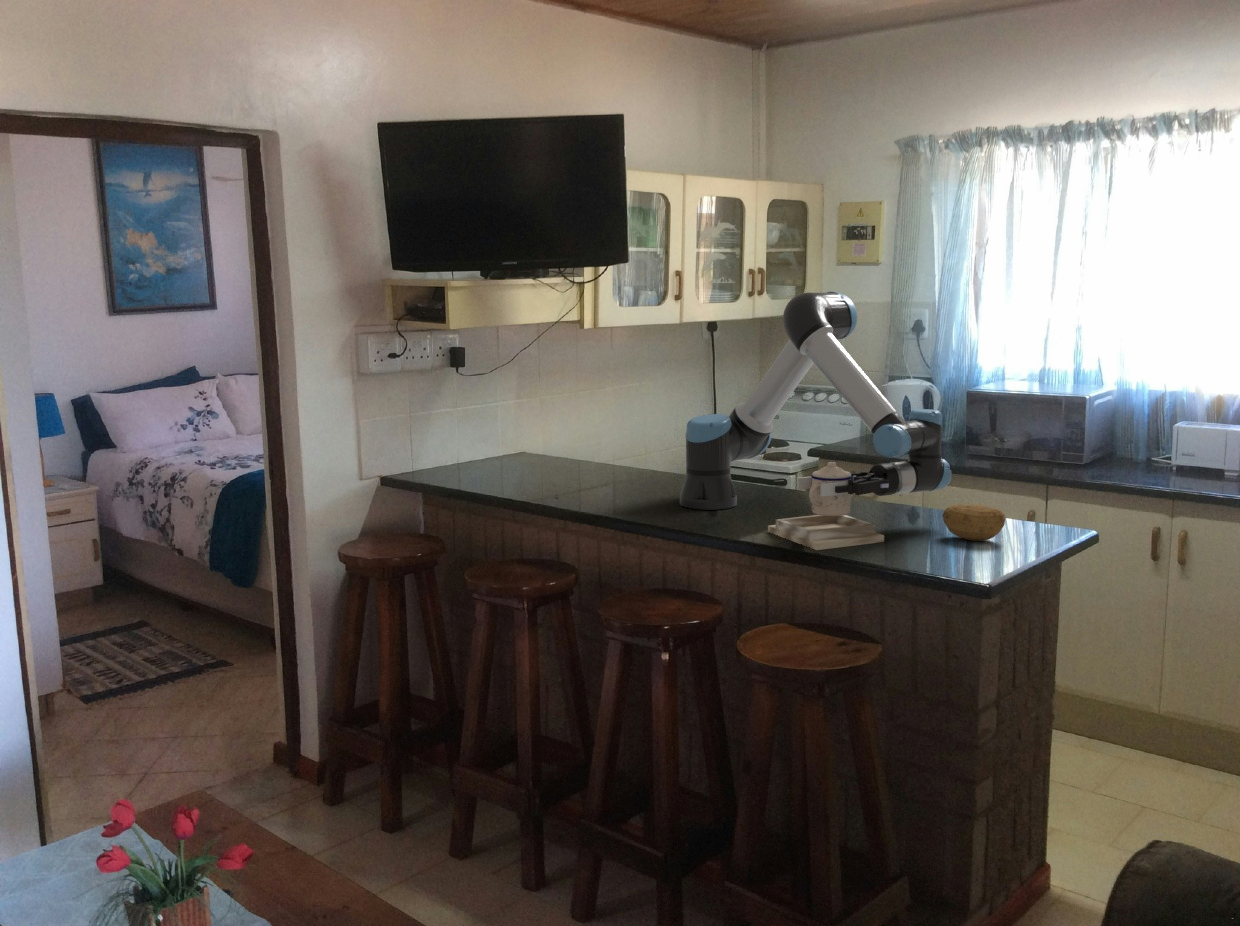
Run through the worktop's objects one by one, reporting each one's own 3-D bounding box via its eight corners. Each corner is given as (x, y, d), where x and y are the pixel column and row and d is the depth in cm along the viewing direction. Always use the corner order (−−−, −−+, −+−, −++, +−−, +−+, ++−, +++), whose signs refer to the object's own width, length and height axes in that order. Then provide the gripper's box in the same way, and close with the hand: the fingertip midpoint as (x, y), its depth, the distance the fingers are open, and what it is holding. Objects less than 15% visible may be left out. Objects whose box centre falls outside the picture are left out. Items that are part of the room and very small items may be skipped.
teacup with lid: (827, 507, 254) (828, 458, 252) (859, 512, 247) (860, 462, 245) (794, 514, 246) (795, 464, 244) (826, 520, 239) (827, 468, 238)
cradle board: (768, 531, 254) (768, 517, 253) (832, 524, 261) (832, 510, 260) (816, 550, 236) (816, 534, 235) (883, 541, 243) (884, 526, 242)
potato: (954, 531, 252) (955, 498, 251) (1011, 541, 242) (1013, 506, 241) (932, 538, 246) (934, 504, 244) (991, 548, 236) (993, 512, 234)
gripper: (920, 502, 244) (837, 511, 235) (862, 487, 264) (783, 495, 255) (921, 469, 243) (837, 477, 234) (863, 457, 263) (783, 464, 254)
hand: (809, 486), depth 244 cm, fingers closed on teacup with lid, 9 cm apart
